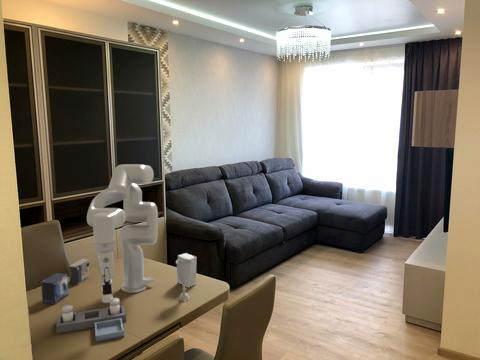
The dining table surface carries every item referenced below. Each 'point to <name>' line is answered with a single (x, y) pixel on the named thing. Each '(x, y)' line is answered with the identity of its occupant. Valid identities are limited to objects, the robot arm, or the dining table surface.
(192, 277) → the skincare box
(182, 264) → the chalice
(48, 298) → the small box
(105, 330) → the tray
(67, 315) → the fuse
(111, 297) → the white striped cylinder
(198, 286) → the dining table surface
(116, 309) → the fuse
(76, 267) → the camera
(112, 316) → the fuse block
